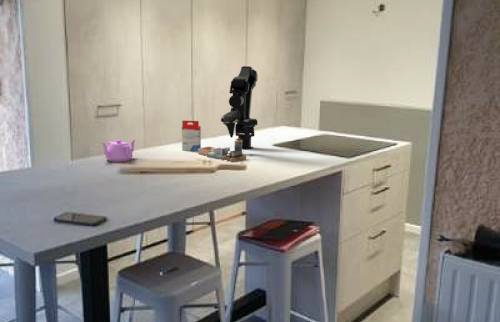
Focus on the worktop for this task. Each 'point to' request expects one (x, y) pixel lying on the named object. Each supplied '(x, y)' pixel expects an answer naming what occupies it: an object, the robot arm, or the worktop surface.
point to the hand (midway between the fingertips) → (238, 138)
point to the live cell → (234, 154)
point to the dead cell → (238, 144)
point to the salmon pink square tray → (204, 150)
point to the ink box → (191, 136)
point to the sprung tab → (224, 151)
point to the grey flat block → (215, 153)
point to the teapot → (118, 151)
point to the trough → (234, 158)
